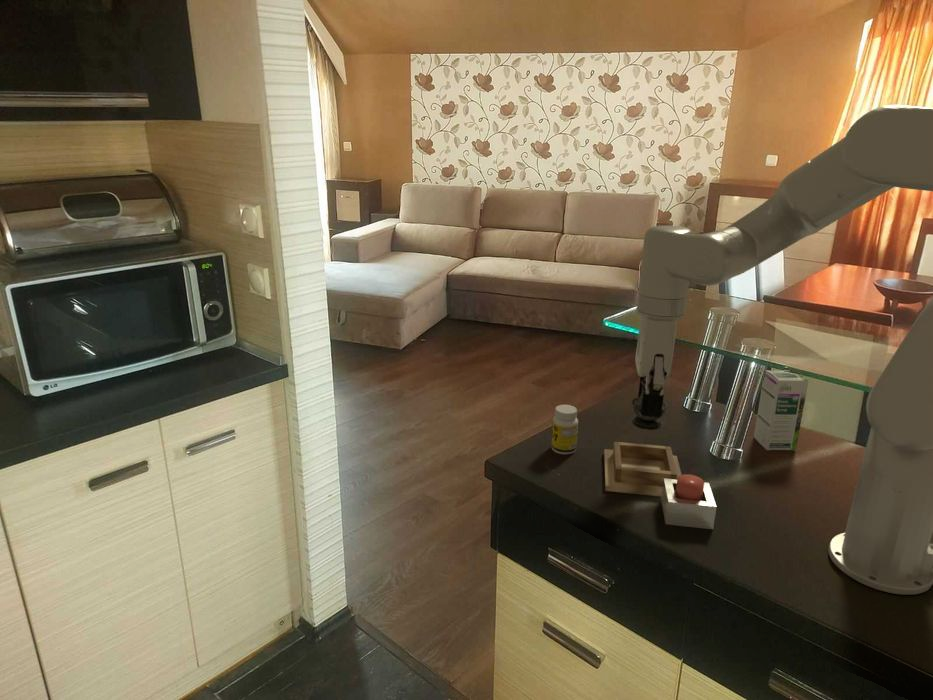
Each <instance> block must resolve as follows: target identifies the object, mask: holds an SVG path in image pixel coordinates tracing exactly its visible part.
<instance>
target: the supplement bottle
mask: <svg viewBox="0 0 933 700" xmlns="http://www.w3.org/2000/svg"><path fill="white" fill-rule="evenodd" d="M554 410H555V411H554V416H553V418H552V426H551V427H552V428H551V443H550V444H551V446H550V447H551V450H552V451H553V452H555V453H556V454H559V455H570V454H571V455H572V454H573V453H575V452H577V445H578V433H579V432H578V431H579V430H578V429H579V419H578V418H577V416H578V409H577V407H575V406H574V405H570V404H560V405H557V406H556V407H555V409H554Z"/></svg>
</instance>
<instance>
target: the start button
mask: <svg viewBox="0 0 933 700" xmlns="http://www.w3.org/2000/svg"><path fill="white" fill-rule="evenodd" d="M704 482H705V481H704V479H702V478H701V477H699V476H697V475H695V474H689V473H688V474H685V473H683V474H681V475H680V476H679V477H678V478H677V485H676V493H675V497H676V499H685V500H695V501H702V496H703V489H704Z"/></svg>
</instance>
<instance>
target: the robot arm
mask: <svg viewBox="0 0 933 700" xmlns="http://www.w3.org/2000/svg"><path fill="white" fill-rule="evenodd" d="M894 188H901V189H909V190H915V191H925V192H926V191H927V192H933V107H928V106H916V105H906V104H905V105H904V104H888V105H883V106H879V107H877V108H875V109H872V110H869V111H868V112H867V113H865V114H863V115H862V116H861V117H859V118H857V120H856V121H855V122H854V123H853V124H852V125H851V126H850V128H849V129H848V130H847V132H846V134H845V136H844V137H843V138H841V140H839V141H837V142H835V143H834V144H833V145H831V146H829V147H828V148H826V149H825V150H824V151H822V152H821V153H819V154H818V155H815V157H813V158H812V159H810V160H808V161H807V162H805V163H804V164H802V165H801V166H799V167H798V168H796V169H794V170H793V171H791V172H790V173H789V174H787V175H786V176H785V177H784V178H783V179H782V181H780V183H779V186H778V188H777V189H776V191H775V192H774V194H772V195H771V196H770V197H769V198H768V199H767V200H765V201H764V202H763V203H761V204H760V205H759V206H758V207H756V208H755V209H753V210H752V211H750V212H748V213H747V214H746V215H744V216H742V217H740V218H739V219H738V220H736V221H735V222H733V223H731V224H730V225H728V226H726V227H725V228H721V229H718V230H714V231H710V232H707V233H706V232H705V233H699V234H694V231H692V230H691V229H690V228H687V227H684V226H677V225H656V226H655V225H654V226H652V227H650V228H648V229H647V230H646V231H645V233H644V238H643V244H642V252H641V253H642V255H641V256H642V257H641V265H640V274H639V285H638V292H637V293H638V294H637V302H636V313H637V314H638V315H640V322H639V328H638V335H637V337H638V338H637V343H636V344H637V345H636V352H635V366H636V367H635V368H636V371H637V375H638V376H639V377H640V379H639V385H638V395H637V398H638V397H640V396H641V393H642V386H643V385H642V384H641V381H642V380H644V376H646V387H645V392H643V398H642V407H641V415H642V416H651V417H660V416H661V413H662V405H663V401H664V396H665V394H664V388H665V380H667V379H668V378H669V377H670V374H671V371H672V364H673V360H674V359H673V358H674V350H675V349H674V348H675V341H676V334H677V322H678V320H681V319H684V318H685V317H686V309H687V302H688V294H689V286H690V283H693V284H696V285H699V286H706V287H707V286H708V287H709V286H710V287H711V286H716V285H720V284H722V283H724V282H726V281H729V280H731V279H732V278H735V277H738V276H740V275H742V274H744V273H746V272H747V271H750V270H751V269H753V268H755V267H756V266H758V265H760V264H762V263H763V262H765V261H767V260H768V259H770V258H771V257H774V256H775V255H777V254H779V253H780V252H782V251H784V250H785V249H787V248H789V247H791V246H792V245H795V244H796V243H797V242H799V241H801V240H803V239H804V238H807V237H808V236H811V235H815V234H816V233H819V232H820V231H822V230H824V229H825V228H827V227H828V226H831V224H832V225H833V224H834V223H835V222H836V221H839V220H841V219H842V218H844V217H845V216H847V215H849V214H850V213H852V212H854V211H855V210H857V209H859V208H860V207H863V206H864V205H866V204H867V203H869V202H871V201H872V200H875V199H876V198H878V197H879V196H882V195H884V194H885V193H888V192H889V191H891V190H892V189H894ZM650 372H654V376H653V375H649V374H650ZM650 379H653V383H651V384H650ZM865 405H866V406H865V409H866V417H867V420H868V423H869V426H870V427H871V428H870V430H869V433H868V434H869V435H868V438H867V442H866V447H865V451H864V453H863V454H864V455H863V458H862V461H861V462H862V463H861V466H860V469H859V474H858V479H857V482H856V486H855V490H854V495H853V498H852V502H851V508H850V512H849V515H848V520H847V524H846V528H845V532H843V533H839V534H837V535H835V536H834V537H832V539H830V541H829V544H828V545H829V546H828V548H827V549H828V555H829V558H830V560H831V561H832V563H833V564H834V565H835V566H836V567H837V568H838V569H839V570H841V572H843V574H845V575H847V576H848V577H850V578H851V579H853V580H855V581H857V582H858V583H861V584H862V585H865V586H867V587H870V588H872V589H874V590H878V591H881V592H886V593H889V594H896V595H904V596H905V595H910V596H911V595H919V594H922V593H924V592H927V591H928V590H929V589H930V588H931V587H932V586H933V543H931V538H932V535H933V297H932V298H931V299H930V300H929V301H928V302H927V304H925V306H924V307H923V309H922V310H921V311H920V313H919V315H918V316H917V318H916V319H915V320H914V323H912V326H911V327H910V329H909V330H908V331H907V333H906V334H905V336H904V338H903V339H902V341H901V343H900V344H899V345H898V347H897V349H896V351H895V352H894V353H893V355H892V357H891V359H890V360H889V361H888V363H887V365H886V366H885V368H884V369H883V371H882V373H881V374H880V376H879V377H878V379H877V380H876V382H875V383H874V385H873V386H872V387H871V390H870V391H869V394H868V396H867V399H866V404H865Z"/></svg>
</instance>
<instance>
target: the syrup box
mask: <svg viewBox="0 0 933 700" xmlns="http://www.w3.org/2000/svg"><path fill="white" fill-rule="evenodd" d="M765 371H766V373H765V377H764V376H763V377H764V380H763V379H762V385H761V390H760V397H759V403H758V404H759V405H758V409H757V415H756V420H755V421H756V422H755V428H754V435H753V438H754V439H755V440H756V441H757V442H758V443H759V444H760V445H761V447H762V448H764V450H766V451H768V452H769V451H796V450H797V444H798V439H799V433H800V429H801V423H802V419H803V415H804V414H803V412H804V410H805V409H804V408H805V402H806V397H807V392H808V386H809V380H808V378H807V377H805V376H804V375H802V374H801V375H802V376H801V375H797V374H793V373H789V372H784V371H785V370H770V369H769V370H765Z"/></svg>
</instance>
